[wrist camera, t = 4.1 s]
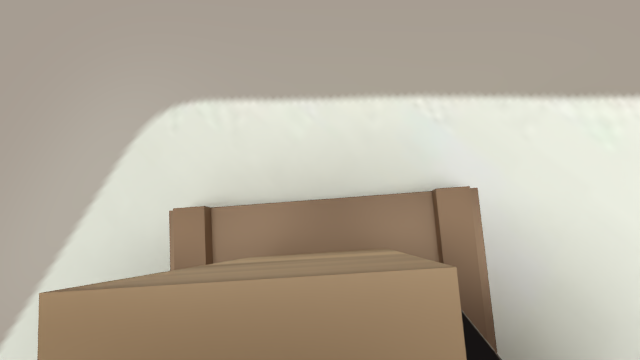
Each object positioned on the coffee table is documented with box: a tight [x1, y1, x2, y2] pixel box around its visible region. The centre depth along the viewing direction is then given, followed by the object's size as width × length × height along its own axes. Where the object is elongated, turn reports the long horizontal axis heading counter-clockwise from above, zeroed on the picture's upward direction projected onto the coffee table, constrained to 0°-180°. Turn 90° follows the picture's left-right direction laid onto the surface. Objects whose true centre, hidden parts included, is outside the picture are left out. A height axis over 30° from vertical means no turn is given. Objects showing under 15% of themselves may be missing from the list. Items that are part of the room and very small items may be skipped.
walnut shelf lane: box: [169, 186, 497, 353], centre depth 17 cm, size 11×12×3 cm
